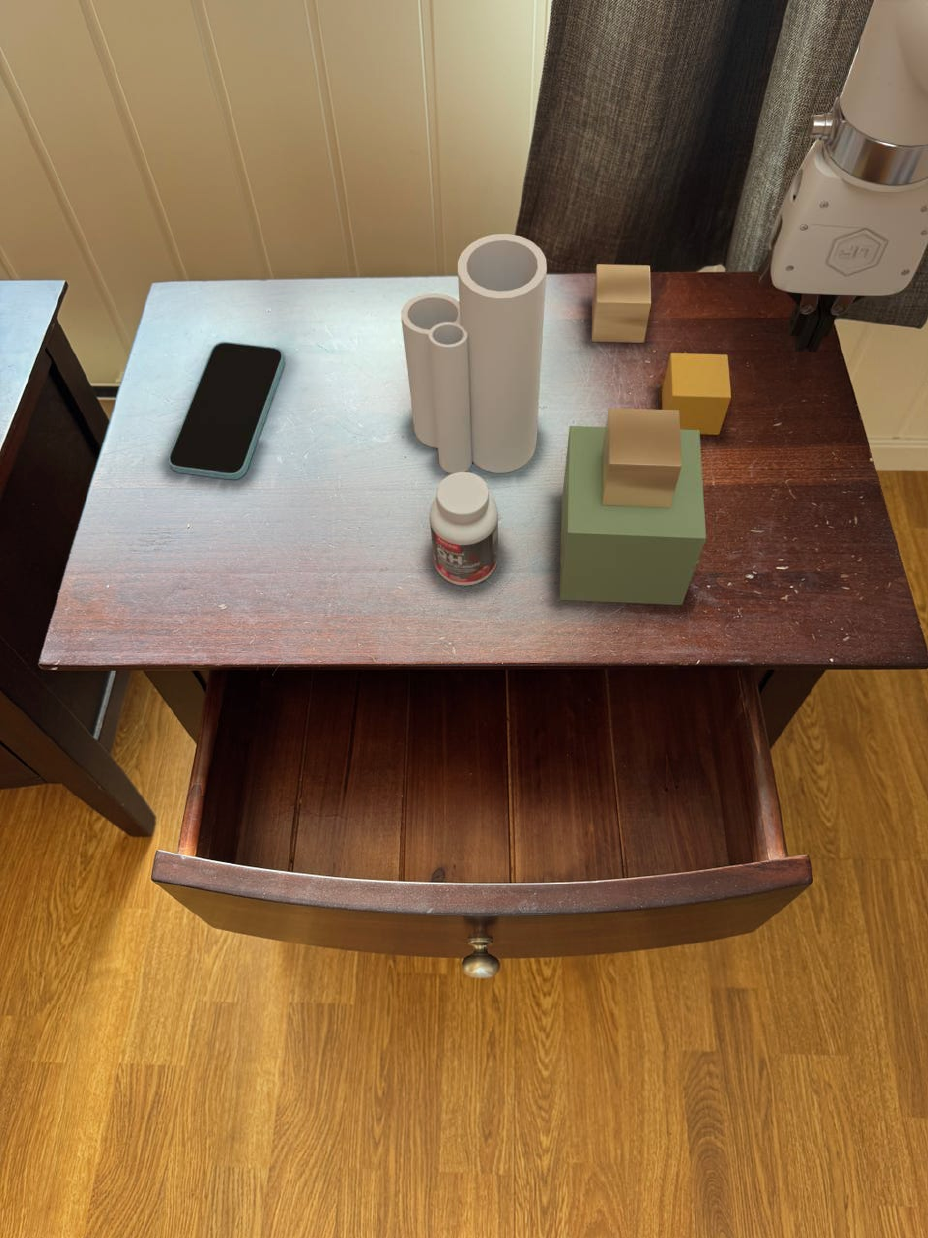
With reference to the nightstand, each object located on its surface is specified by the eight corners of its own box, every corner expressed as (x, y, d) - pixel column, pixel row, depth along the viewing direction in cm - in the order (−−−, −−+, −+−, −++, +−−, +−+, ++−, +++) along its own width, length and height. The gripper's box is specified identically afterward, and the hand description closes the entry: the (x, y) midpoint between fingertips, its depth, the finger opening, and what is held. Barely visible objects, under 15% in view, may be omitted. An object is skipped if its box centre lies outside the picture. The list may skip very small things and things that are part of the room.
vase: (539, 417, 86) (550, 235, 69) (532, 480, 83) (542, 306, 65) (417, 408, 87) (398, 226, 69) (406, 469, 84) (382, 295, 66)
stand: (561, 500, 82) (569, 425, 73) (677, 505, 81) (699, 429, 72) (559, 600, 77) (567, 532, 68) (682, 605, 76) (706, 538, 67)
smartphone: (164, 465, 84) (214, 340, 90) (168, 472, 85) (217, 348, 91) (241, 475, 83) (286, 348, 89) (244, 483, 84) (288, 356, 90)
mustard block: (661, 391, 87) (670, 352, 83) (715, 392, 87) (727, 353, 82) (663, 433, 85) (672, 395, 80) (719, 435, 84) (731, 397, 80)
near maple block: (601, 451, 71) (608, 407, 67) (668, 454, 71) (679, 410, 67) (601, 505, 69) (609, 463, 65) (670, 508, 69) (682, 466, 64)
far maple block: (591, 304, 93) (596, 263, 88) (642, 305, 92) (649, 264, 88) (591, 341, 90) (596, 301, 86) (643, 343, 90) (651, 303, 86)
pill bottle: (435, 589, 78) (427, 522, 69) (433, 535, 80) (426, 464, 72) (499, 586, 78) (500, 519, 69) (496, 532, 80) (496, 461, 72)
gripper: (777, 170, 60) (715, 370, 76) (1016, 176, 59) (902, 377, 75) (768, 96, 63) (710, 303, 80) (994, 102, 63) (889, 309, 79)
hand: (803, 338), depth 77 cm, fingers closed
